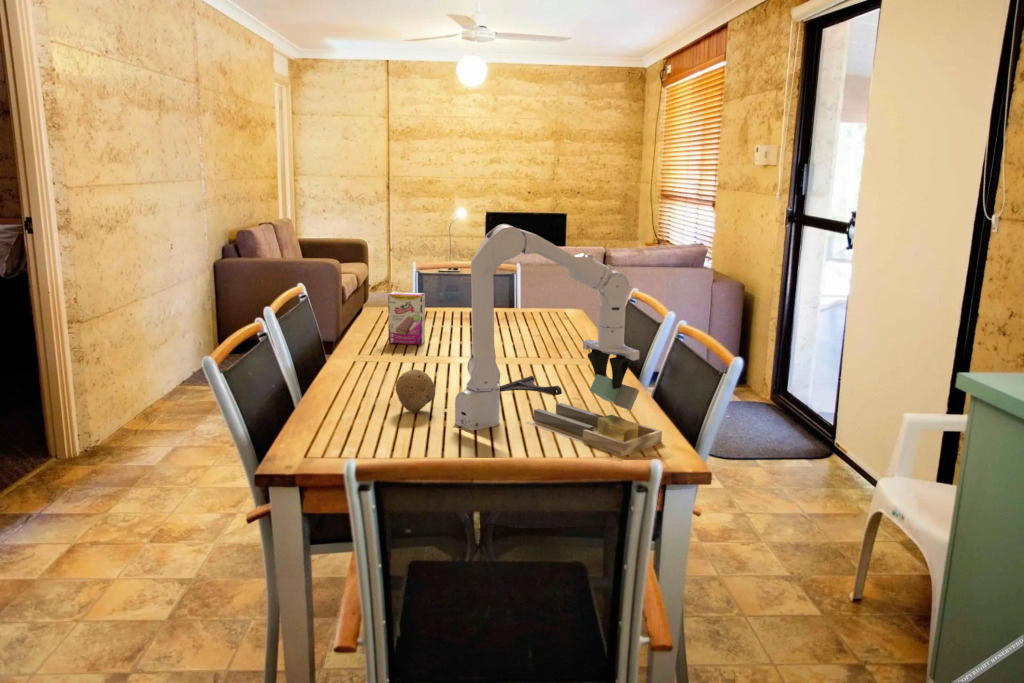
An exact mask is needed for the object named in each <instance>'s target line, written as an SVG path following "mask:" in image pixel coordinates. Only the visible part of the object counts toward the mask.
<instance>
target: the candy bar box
mask: <svg viewBox="0 0 1024 683" xmlns="http://www.w3.org/2000/svg"><path fill="white" fill-rule="evenodd" d="M387 296H388V299H387V300H388V302H387V303H388V306H387V307H388V311H387V312H388V314H387V315H388V318H387V319H388V344H390V345H391V344H393V345H413V346H415V345H416V346H423V344H425V341H426V334H425V333H426V329H425V328H426V294H425V293H424V292H422V293H421V292H405V291H403V292H401V291H391V292H390V293H388V295H387Z"/></svg>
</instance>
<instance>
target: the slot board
mask: <svg viewBox="0 0 1024 683" xmlns="http://www.w3.org/2000/svg"><path fill="white" fill-rule="evenodd" d="M604 416H605V415H601V414H598V413H595V412H592V411H588V410H586V409H582V408H579V407H575V406H572V405H570V404H566V403H563V402H558V403H556V404H555V413H554V412H552V411H547V410H545V409H541V408H537V409H534V410H533V420H531V421H527V422H526V424H529V425H531V426H535V427H538V428H540V429H543V430H546V431H549V432H551V433H554V434H557V435H560V436H563V437H566V438H569V439H572V440H574V441H577V442H580V443H583V444H586V445H589V446H591V447H594V448H597V449H600V450H603V451H606V452H609V453H611V454H614V455H617V456H620V457H624V456H627V455H630V454H633V453H636V452H640V451H642V450H644V449H648V448H650V447H653V446H656V445H659V444H661V443H663V441H662V439H663V431H662V430H659V429H656V428H652V427H650V426H647V425H643V424H641V423H636V422H633V421H630V420H627V419H626V421H629V422H632V423H635V424H638V437H637V438H634V439H631V440H629V441H626V442H622V441H619V440H616V439H613V438H610V437H607V436H604V435H601V434H598V433H597V431H598V418H599V417H604Z"/></svg>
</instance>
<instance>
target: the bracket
mask: <svg viewBox="0 0 1024 683" xmlns="http://www.w3.org/2000/svg"><path fill="white" fill-rule="evenodd" d="M535 380H536V379H535V376H534V375H529V376H527V377H524V378H521V379H518V380H517V379H516V380H515V381H511V382H508V383H505V384H503V385H500V392H507V391H508V392H509V391H522V390H523V391H525V390H526V391H538V392H543V393H547V394H552V395H554V396H555V395H556V396H559V395H562V393H563V392H562V388H561V387H560V386H559V385H554V386H553V385H552V386H542V385H541V386H540V385H536V384H535Z"/></svg>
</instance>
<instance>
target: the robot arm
mask: <svg viewBox="0 0 1024 683" xmlns="http://www.w3.org/2000/svg"><path fill="white" fill-rule="evenodd" d="M521 253H522V254H524V255H531V254H532V255H533V254H537V255H539V256H541V257H543V258H545V259H548V260H550V261H552V262H553V263H555V264H557V265H560V266H562V267H564V268H566V269H567V272H568V275H569V278H571V279H573V280H576V281H577V282H579V283H581V284H583V285H585V286H587V287H589V288H591V289H593V290H595V291H598V292H599V293H600V294H599V305H598V306H599V308H598V327H597V328H598V329H597V340H594V339H584V340H583V341H582V349H583V350H591V351H590V352H589V353H587V358H588V359H589V362H590V363H591V366H592V369H593V373H594V378H595V377H596V375H597V374H598V375H601V376H605V377H607V368H608V363H610V367H611V377H612V378H611V379H612V387H613V389H617V388H621V385H622V384H623V382H624V381H623V380H624V378H625V376H626V373H627V371H628V369H629V367H630V365H631V364H632V362H633V361H637V360H640V350H638V349H635V348H633V347H629V346H627V345H626V344H625V329H626V328H625V324H626V310H627V309H626V308H627V307H626V302H627V301H626V299H627V298H626V297H627V296H628V294H630V291H631V287H632V286H631V285H630V282H629V279H628V277H627V276H626V275H624V274H623V273H621V272H619V271H617V270H616V269H614V267H613V266H612V265H610V264H607V265H606V264H604V263H602V262H600V261H598V259H597V260H596V259H595V258H594V257H595V256H594V255H593V254H591V253H589V252H588V253H587V254H585V253H583V252H582V253H579V254H575V255H573V254H571V253H570V252H568V251H566V250H564V249H562V248H561V247H559V246H557V245H555V244H554V243H552V242H550V241H549V240H547V239H545V238H543V237H542V236H539V235H538V234H535V233H533V232H529V231H527V230H523V229H521V228H517V227H514V226H512V225H510V224H508V223H502V224H498V225H497V226H495V227H494V228H492V229H491V230H489V231H488V233H486V234H485V237H484V239H483V241H482V242H481V243H480V246H479V247H478V248H477V250H476V252H475V254H474V255H473V256H472V258H471V263H470V275H471V276H470V278H471V279H470V281H471V282H470V283H471V286H470V287H471V289H470V290H471V328H472V329H471V336H472V337H471V338H472V341H471V342H472V344H471V351H470V352H471V354H470V356H469V357H470V358H469V360H468V361H467V371H468V374H469V375H470V378H469V380H468V382H467V383H466V387H465V388H464V390H462V391H459V392H458V393H457V394H456V396H455V400H454V424H455V425H453V427H454V428H457V429H458V430H461V431H464V432H467V433H468V434H469V433H470V434H471V435H475V436H476V435H477V434H476V433H473V432H470V431H475V430H480V429H483V428H484V429H485V428H492V427H495V426H497V425H499V424H500V404H501V403H500V402H501V401H500V400H501V398H500V396H501V394H500V393H501V389H500V386H501V384H500V380H501V371H500V369H499V367H498V365H497V362H496V357H497V356H496V349H495V348H496V347H495V311H494V307H495V305H494V304H495V303H494V302H495V301H494V299H495V298H494V296H495V295H494V291H495V290H494V273H495V271H496V270H497V269H498V268H499V267H500V266H502V265H503V264H504V263H505V262H506V261H509V260H511V259H514V258H516V257H518V256H519V255H520V254H521ZM611 355H612V356H614V357H610V356H611ZM456 425H457V426H456ZM458 426H460V427H458ZM461 427H462V428H461ZM463 428H464V429H463ZM466 429H467V430H466Z"/></svg>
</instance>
